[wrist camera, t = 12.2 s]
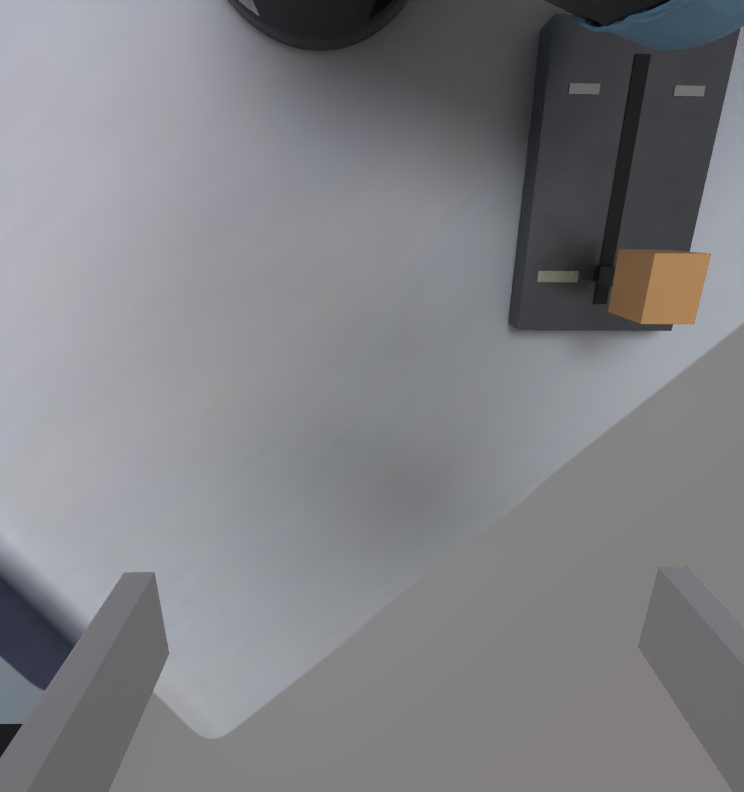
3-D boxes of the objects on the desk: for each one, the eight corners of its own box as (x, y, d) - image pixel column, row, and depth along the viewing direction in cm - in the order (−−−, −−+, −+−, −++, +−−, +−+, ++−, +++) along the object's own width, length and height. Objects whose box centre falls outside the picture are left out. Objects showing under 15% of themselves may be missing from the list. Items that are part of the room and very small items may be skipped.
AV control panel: (540, 29, 33) (555, 13, 30) (714, 33, 33) (743, 18, 30) (508, 323, 39) (518, 329, 37) (653, 324, 40) (672, 330, 37)
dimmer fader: (590, 246, 35) (655, 253, 27) (634, 246, 35) (711, 253, 27) (581, 302, 36) (640, 323, 28) (623, 302, 36) (693, 324, 28)
